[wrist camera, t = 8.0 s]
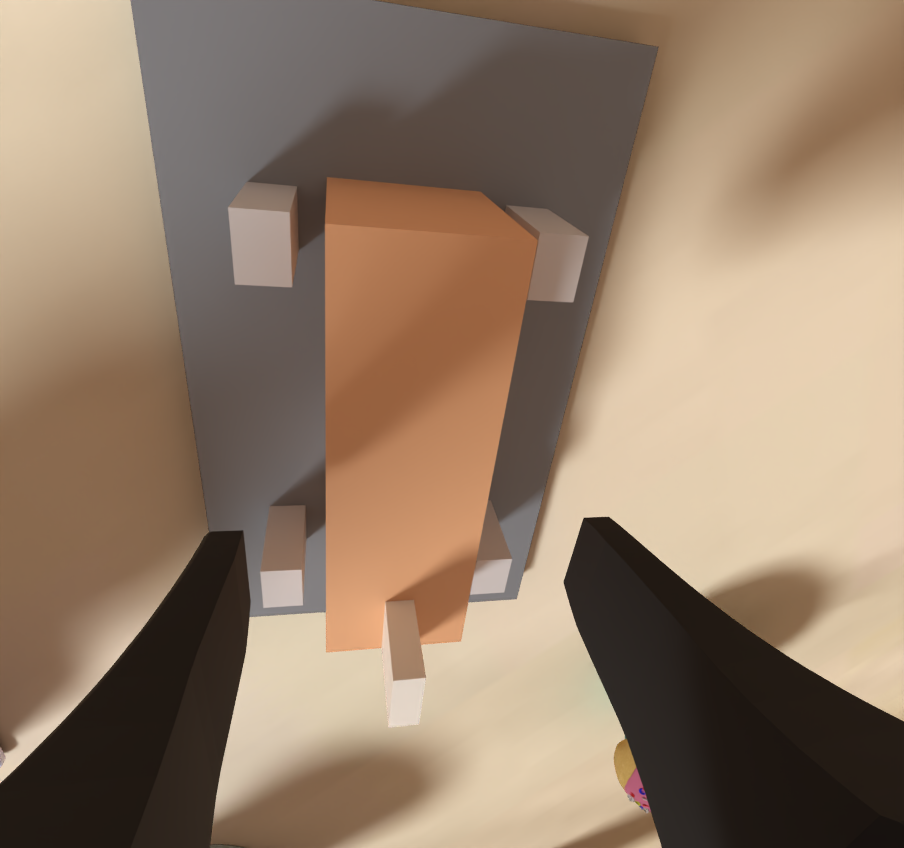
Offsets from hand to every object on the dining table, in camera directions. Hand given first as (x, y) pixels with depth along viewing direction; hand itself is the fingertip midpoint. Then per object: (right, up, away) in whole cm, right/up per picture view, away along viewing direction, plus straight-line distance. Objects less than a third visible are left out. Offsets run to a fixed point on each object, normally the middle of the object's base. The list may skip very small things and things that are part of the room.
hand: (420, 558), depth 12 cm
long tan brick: (-1, +4, +6) cm, 7 cm away
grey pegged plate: (-1, +4, +7) cm, 8 cm away
